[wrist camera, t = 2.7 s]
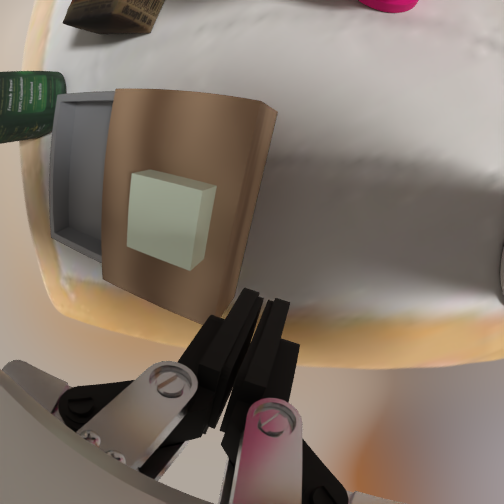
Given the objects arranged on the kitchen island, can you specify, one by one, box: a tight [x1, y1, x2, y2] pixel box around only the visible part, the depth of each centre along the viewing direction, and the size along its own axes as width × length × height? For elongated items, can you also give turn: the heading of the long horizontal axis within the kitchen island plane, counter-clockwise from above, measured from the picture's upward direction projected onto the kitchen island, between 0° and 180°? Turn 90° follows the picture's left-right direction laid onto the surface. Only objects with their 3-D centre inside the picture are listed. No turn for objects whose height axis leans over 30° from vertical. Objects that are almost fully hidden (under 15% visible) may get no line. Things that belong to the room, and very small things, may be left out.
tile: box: [127, 169, 217, 271], centre depth 17 cm, size 5×5×2 cm
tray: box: [49, 91, 115, 263], centre depth 23 cm, size 10×16×3 cm, turn 167°
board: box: [101, 89, 278, 325], centre depth 21 cm, size 11×16×5 cm
